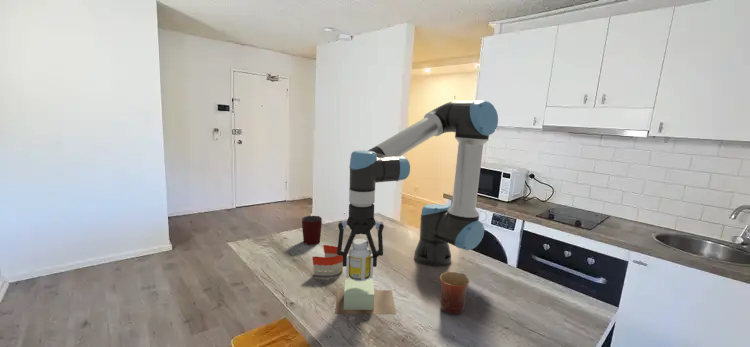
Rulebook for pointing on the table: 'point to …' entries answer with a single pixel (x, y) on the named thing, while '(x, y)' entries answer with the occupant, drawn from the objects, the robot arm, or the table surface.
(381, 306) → the plate
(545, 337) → the table surface
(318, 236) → the mug
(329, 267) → the denture model
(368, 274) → the pill bottle
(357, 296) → the brick
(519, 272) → the table surface
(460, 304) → the mug
